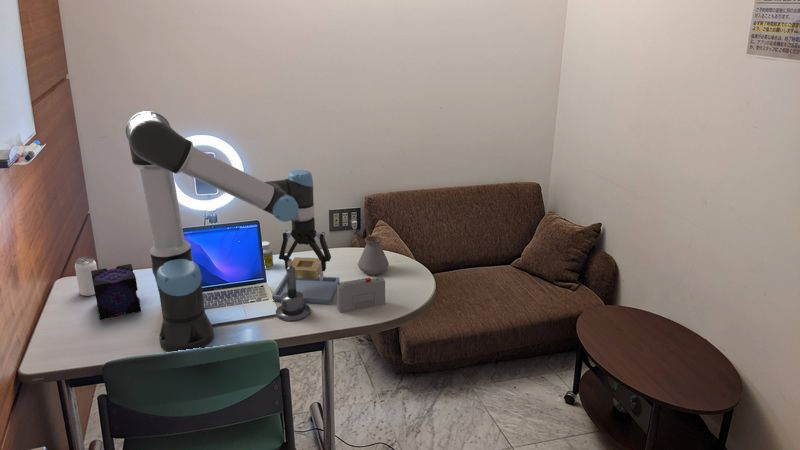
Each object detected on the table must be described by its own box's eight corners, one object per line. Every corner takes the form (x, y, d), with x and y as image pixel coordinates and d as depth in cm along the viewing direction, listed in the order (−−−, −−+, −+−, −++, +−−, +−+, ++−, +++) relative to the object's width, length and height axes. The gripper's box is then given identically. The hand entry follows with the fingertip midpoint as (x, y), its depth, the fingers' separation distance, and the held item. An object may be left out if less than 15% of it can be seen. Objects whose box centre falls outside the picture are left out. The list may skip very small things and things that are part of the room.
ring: (317, 279, 197) (316, 270, 196) (287, 277, 198) (286, 269, 197) (324, 263, 209) (324, 255, 208) (296, 262, 210) (296, 254, 209)
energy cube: (136, 296, 202) (131, 263, 197) (141, 311, 192) (135, 277, 188) (97, 303, 196) (90, 270, 192) (100, 320, 186) (93, 285, 182)
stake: (305, 322, 187) (303, 275, 181) (271, 320, 188) (268, 273, 182) (313, 305, 197) (311, 260, 191) (281, 303, 198) (278, 258, 192)
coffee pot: (391, 276, 219) (392, 238, 213) (360, 278, 216) (360, 240, 211) (380, 253, 238) (380, 218, 233) (351, 255, 236) (351, 220, 230)
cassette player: (382, 301, 201) (382, 274, 197) (385, 304, 198) (385, 277, 195) (337, 309, 195) (336, 281, 192) (339, 313, 193) (339, 285, 189)
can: (85, 298, 199) (79, 265, 195) (76, 292, 203) (69, 260, 199) (104, 291, 204) (99, 259, 200) (95, 286, 208) (89, 254, 204)
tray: (330, 304, 198) (330, 299, 197) (272, 301, 199) (272, 296, 199) (339, 282, 213) (339, 277, 212) (285, 279, 215) (285, 274, 214)
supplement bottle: (268, 262, 228) (266, 239, 225) (276, 267, 224) (274, 243, 221) (256, 266, 225) (254, 243, 221) (263, 271, 221) (261, 247, 218)
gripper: (339, 214, 198) (340, 275, 206) (272, 212, 200) (276, 272, 208) (334, 222, 191) (336, 284, 199) (265, 219, 193) (270, 281, 201)
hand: (306, 278), depth 203 cm, fingers closed on ring, 10 cm apart
